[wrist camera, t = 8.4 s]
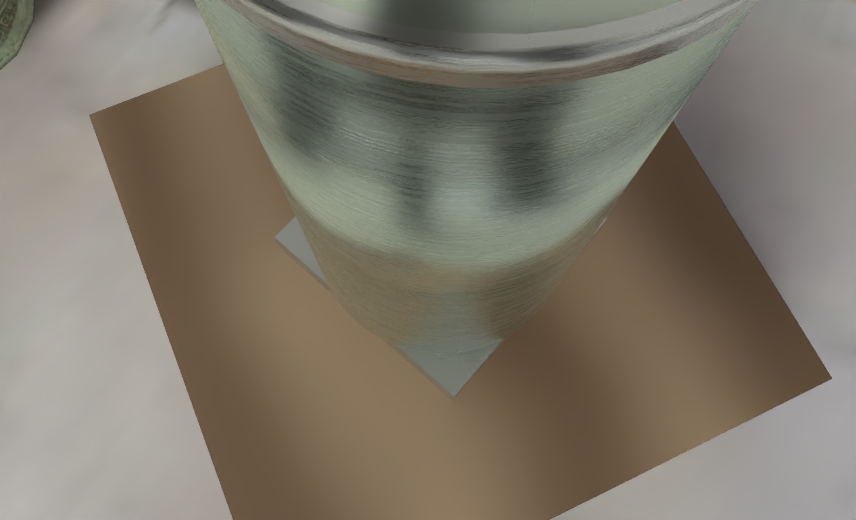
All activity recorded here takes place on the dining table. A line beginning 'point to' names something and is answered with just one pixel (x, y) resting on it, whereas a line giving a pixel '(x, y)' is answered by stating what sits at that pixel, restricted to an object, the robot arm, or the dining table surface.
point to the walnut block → (403, 384)
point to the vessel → (14, 27)
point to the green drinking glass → (458, 145)
